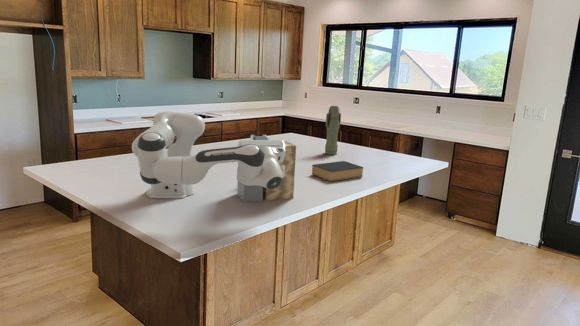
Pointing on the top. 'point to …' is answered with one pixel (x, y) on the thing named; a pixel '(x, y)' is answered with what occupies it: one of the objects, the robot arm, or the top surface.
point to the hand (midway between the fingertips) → (258, 135)
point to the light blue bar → (259, 138)
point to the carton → (284, 176)
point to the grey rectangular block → (250, 192)
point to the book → (337, 170)
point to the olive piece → (332, 130)
